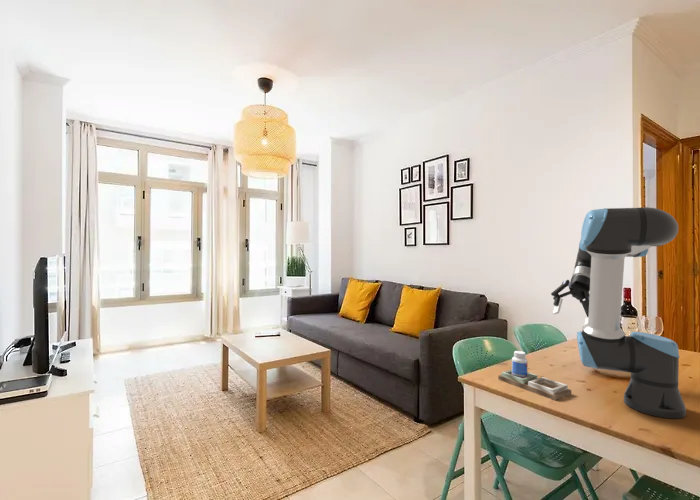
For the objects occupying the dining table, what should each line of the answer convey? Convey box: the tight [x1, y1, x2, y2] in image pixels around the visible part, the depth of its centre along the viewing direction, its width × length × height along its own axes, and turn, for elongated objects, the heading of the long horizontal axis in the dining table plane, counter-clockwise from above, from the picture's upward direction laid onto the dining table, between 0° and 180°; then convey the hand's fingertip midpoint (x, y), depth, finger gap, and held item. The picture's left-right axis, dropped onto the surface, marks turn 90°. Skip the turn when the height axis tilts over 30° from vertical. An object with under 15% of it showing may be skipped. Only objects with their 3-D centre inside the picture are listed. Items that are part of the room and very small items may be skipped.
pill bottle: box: [511, 350, 528, 378], centre depth 136 cm, size 6×5×10 cm
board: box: [497, 369, 572, 401], centre depth 131 cm, size 22×10×3 cm, turn 31°
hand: (570, 322), depth 140 cm, fingers open, 13 cm apart
